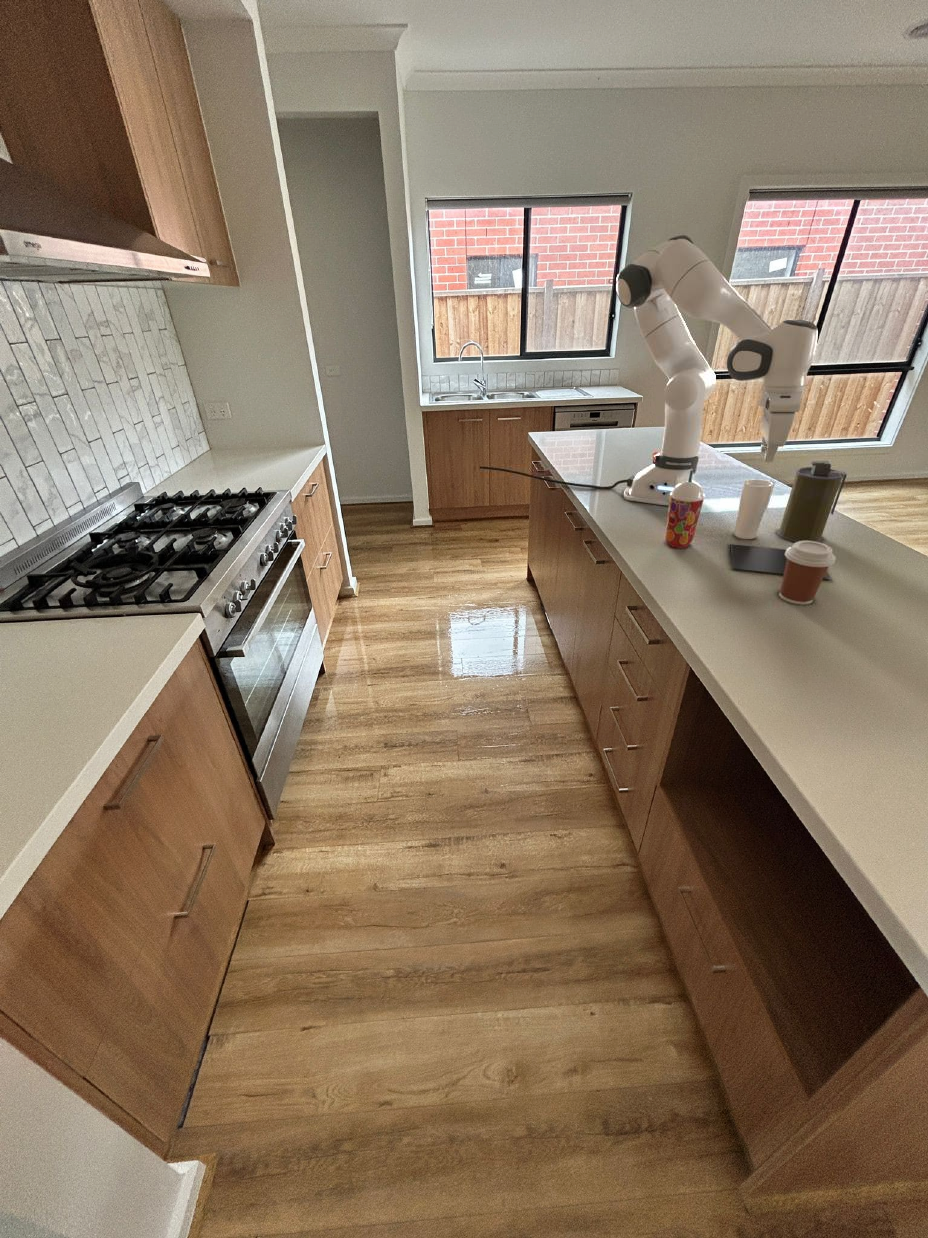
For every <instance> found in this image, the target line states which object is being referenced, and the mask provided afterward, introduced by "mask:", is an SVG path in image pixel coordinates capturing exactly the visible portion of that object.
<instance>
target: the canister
mask: <svg viewBox="0 0 928 1238" xmlns="http://www.w3.org/2000/svg"><path fill="white" fill-rule="evenodd" d="M810 464H811V465H812V466H805V467H799V468H797V469H796V471H795V476H794V480H793V483H792V486H791V490H790V494H789V496H788V501H787V503H786V507H785V510H784V513H783V517H782V520H781V523H780V527H779V529H778V530H777V535H778V536H779V537H781V538H782V539H784V540H787V541H789V542H794V543H796V542H798V541H815V542H822V540H823V534H824V531H825V528H826V525H827V523H828V519H829V516H830V514H831V516H833V515H834V512H835V510H836V506H837V504H838V501H839V498H840V495H841V492H842V489H843V487H844V484H845V482H846V478H847V476H848V474H847V473H846V471H843V470H842V471H841V470H836V469H833V468H832V464H831V463H830V461H828V460H813V461H812V460H810Z"/></svg>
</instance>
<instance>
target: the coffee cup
mask: <svg viewBox="0 0 928 1238" xmlns="http://www.w3.org/2000/svg"><path fill="white" fill-rule="evenodd" d="M785 550H786V552H785V556H786V558H787V561H786V566H785V571H784V575H782V580H781V584H780V590H779V593H778V596H779V597H780V598H781V599H782V600H784V601H786V602H788V603H791V604H795V605H809V604H811V603H813V600H814V599H815V596H816V594H817V592H818V590H819V588H820V586H821V584H822V582H823V581H824V580H823V578H824V576H825V574H827V571H828V569H829V568H830V567H831V566H833V565H835V563H836V559H837V557H836V556H835V555H834V554H833V549H832V547H831V546H829V545H827V544H826V543H823V542H821V541H819V542H815V541H798V542H794V543H793V545H792V546H790V547H787V548H786V549H785Z"/></svg>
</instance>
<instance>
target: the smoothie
mask: <svg viewBox="0 0 928 1238" xmlns="http://www.w3.org/2000/svg"><path fill="white" fill-rule="evenodd" d="M692 474H693V470H690V476H689V481H684V482H681V483H679V484H678V485H677V486H676V487H675V488H674V489H673V491H672V492H671V493H670V500H669V506H668V510H667V511H668V512H667V519H666V527H665V528H666V529H665V537H664V538H665V540H666V544H667V545H668V546H670V547H672V548H676V549H682V548H683V549H685V548H687V547H689V546H690V544H691V543H692V542H693V540H694V537H695V533H696V528H697V525H698V522H699V518H700V515H701V511H702V508H703V503H704V501H705V498H706V496H705V493H704V490H703V488H702V486H701V485H700V484H699V483H698V482H696V481H695V480H694V481H691V480H692Z"/></svg>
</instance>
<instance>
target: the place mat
mask: <svg viewBox="0 0 928 1238" xmlns="http://www.w3.org/2000/svg"><path fill="white" fill-rule="evenodd" d="M729 548H730V556H731V563H732V570H733V571H741V572H749V573H757V574H758V573H759V574H768V575H776V576H783V575H784V571H785V566H786V561H787V558H786V556H785V552H786V549H784V548H783V549H782V548H775V547H764V546H754V545H753V546H752V545H742V544H734V543H733V544H729ZM829 580H830V579H829V576H828V574H827V573H826V574H825V576H824V578H823V580H822V581H829Z"/></svg>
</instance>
